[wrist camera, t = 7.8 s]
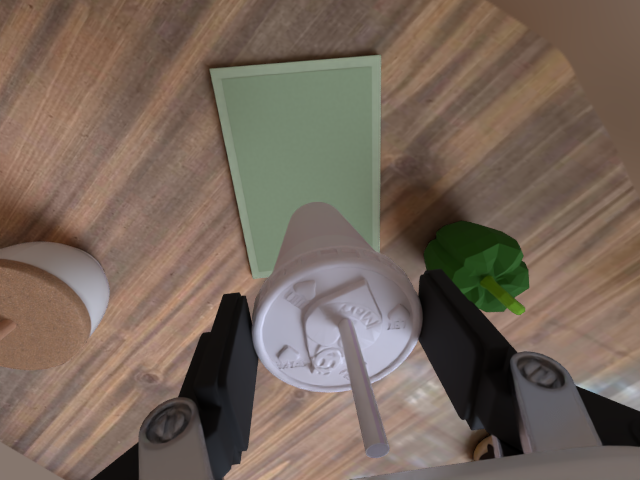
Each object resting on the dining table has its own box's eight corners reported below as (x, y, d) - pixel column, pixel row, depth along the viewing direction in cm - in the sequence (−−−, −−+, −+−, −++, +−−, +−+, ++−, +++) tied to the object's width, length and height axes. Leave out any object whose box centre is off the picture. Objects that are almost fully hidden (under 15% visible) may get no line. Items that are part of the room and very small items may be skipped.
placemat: (210, 69, 25) (209, 68, 24) (379, 55, 25) (381, 54, 25) (253, 276, 33) (252, 279, 33) (378, 262, 34) (379, 264, 34)
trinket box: (24, 309, 33) (-69, 383, 24) (0, 216, 28) (-123, 267, 20) (132, 318, 34) (80, 390, 26) (125, 232, 30) (60, 286, 22)
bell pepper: (401, 234, 33) (443, 286, 24) (472, 197, 32) (545, 237, 23) (427, 289, 36) (473, 352, 27) (493, 257, 35) (562, 312, 26)
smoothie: (381, 199, 19) (556, 395, 7) (343, 281, 22) (419, 539, 9) (284, 165, 18) (276, 336, 5) (254, 257, 20) (200, 526, 8)
